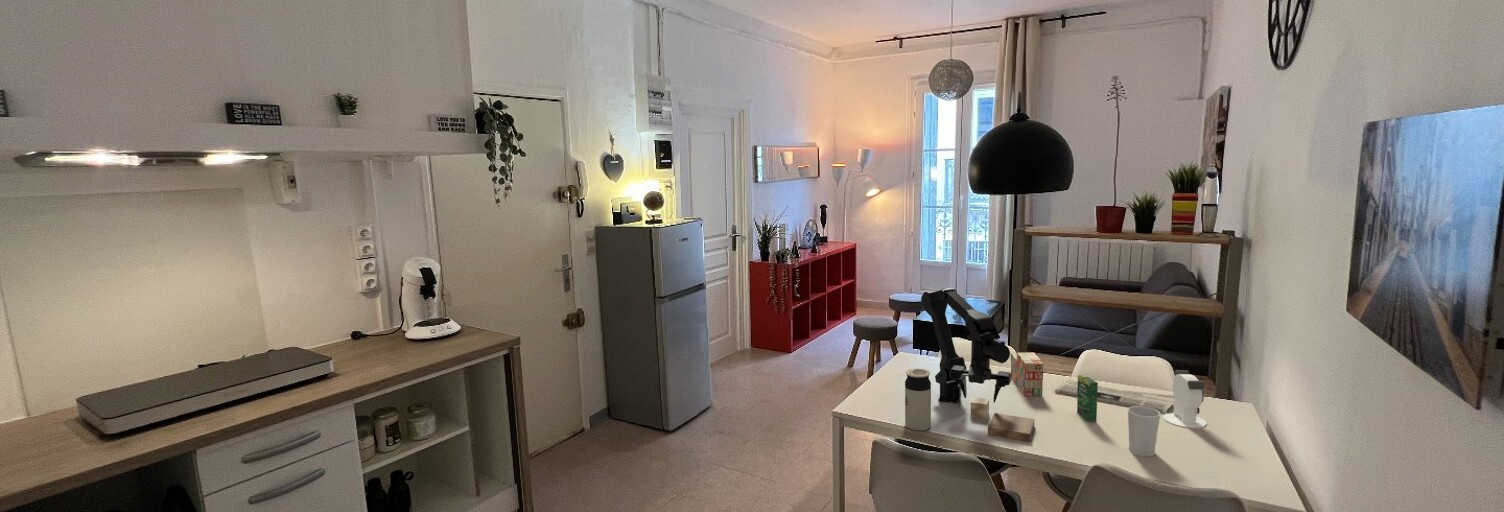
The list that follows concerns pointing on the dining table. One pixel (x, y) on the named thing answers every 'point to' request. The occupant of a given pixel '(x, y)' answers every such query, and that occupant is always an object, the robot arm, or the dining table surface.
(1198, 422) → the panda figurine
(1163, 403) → the newspaper
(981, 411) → the maple cube
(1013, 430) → the walnut base slab
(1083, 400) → the coffee box
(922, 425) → the travel mug
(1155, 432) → the cup
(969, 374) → the robot arm
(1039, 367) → the stack of blocks
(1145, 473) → the dining table surface
